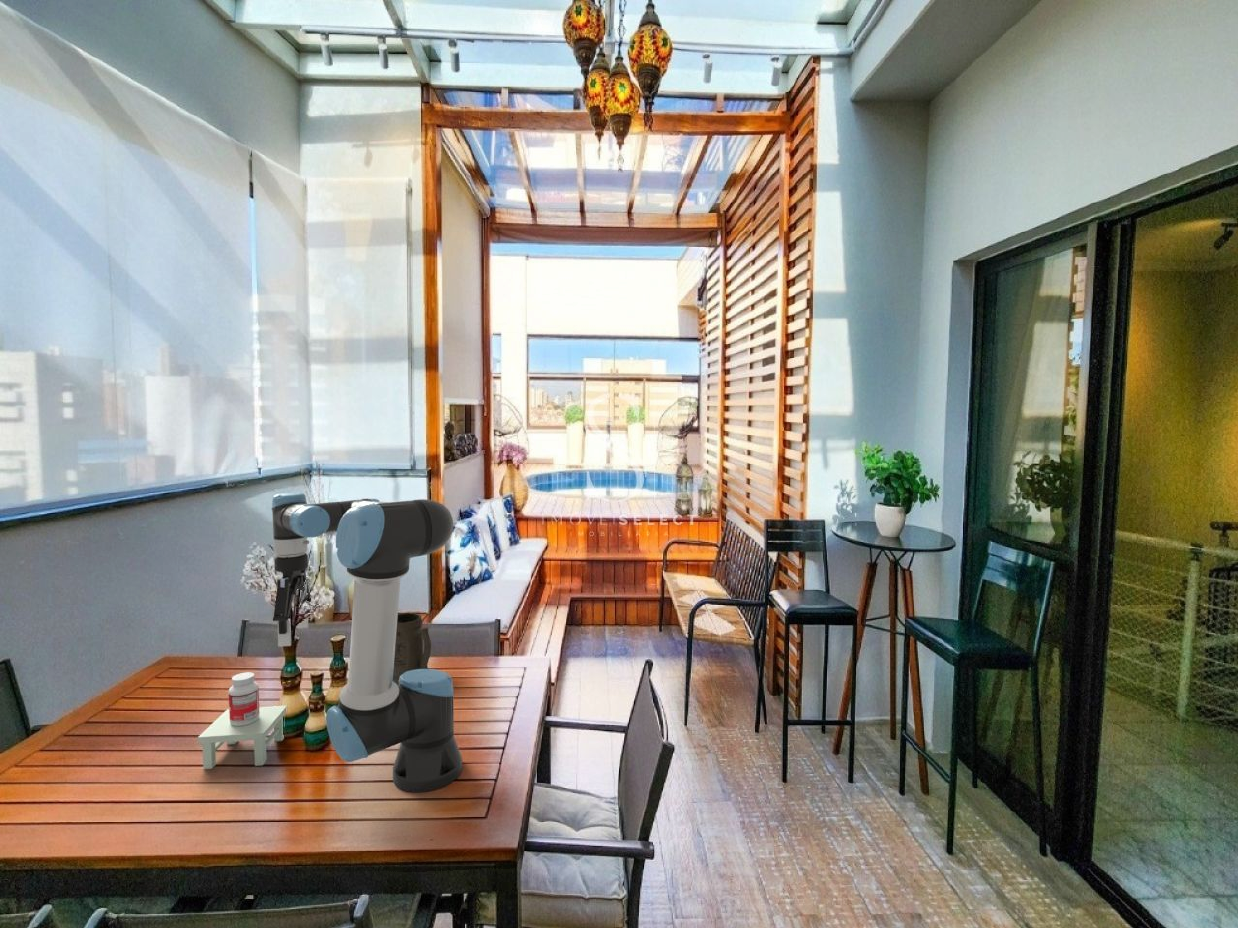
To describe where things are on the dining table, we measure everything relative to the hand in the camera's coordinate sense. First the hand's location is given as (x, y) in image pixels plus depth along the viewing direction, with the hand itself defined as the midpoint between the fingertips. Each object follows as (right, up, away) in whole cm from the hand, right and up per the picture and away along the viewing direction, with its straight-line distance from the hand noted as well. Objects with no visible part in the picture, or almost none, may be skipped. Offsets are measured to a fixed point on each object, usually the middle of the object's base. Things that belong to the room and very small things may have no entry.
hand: (293, 636), depth 156 cm
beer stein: (+19, -23, +34) cm, 46 cm away
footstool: (-7, -26, -8) cm, 28 cm away
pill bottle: (-7, -18, -8) cm, 21 cm away
